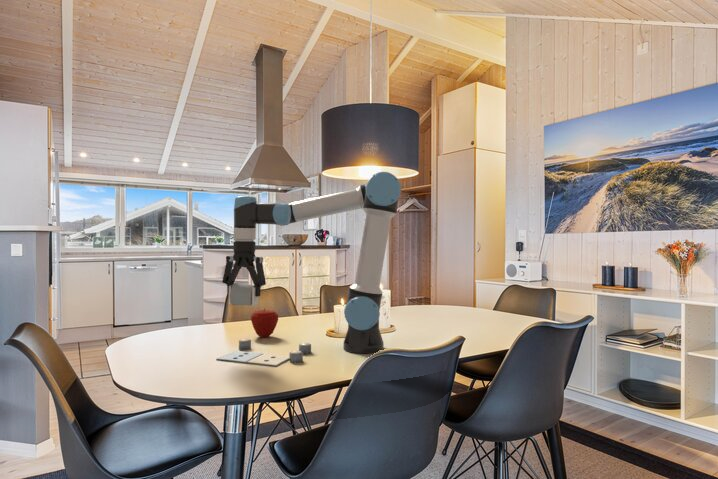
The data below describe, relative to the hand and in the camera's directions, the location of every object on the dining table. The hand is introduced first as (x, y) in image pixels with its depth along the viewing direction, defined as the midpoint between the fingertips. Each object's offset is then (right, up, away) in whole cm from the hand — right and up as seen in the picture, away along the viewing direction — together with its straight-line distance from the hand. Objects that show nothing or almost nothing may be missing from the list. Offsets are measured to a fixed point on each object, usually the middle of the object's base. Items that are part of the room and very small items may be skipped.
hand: (243, 304), depth 156 cm
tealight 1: (-2, -18, +11) cm, 21 cm away
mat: (+5, -18, -3) cm, 19 cm away
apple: (+1, -18, +30) cm, 35 cm away
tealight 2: (+19, -18, -6) cm, 27 cm away
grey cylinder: (0, 0, +2) cm, 2 cm away
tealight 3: (+21, -18, +5) cm, 28 cm away
